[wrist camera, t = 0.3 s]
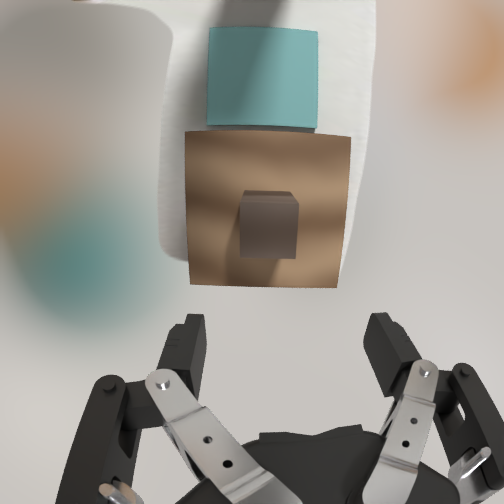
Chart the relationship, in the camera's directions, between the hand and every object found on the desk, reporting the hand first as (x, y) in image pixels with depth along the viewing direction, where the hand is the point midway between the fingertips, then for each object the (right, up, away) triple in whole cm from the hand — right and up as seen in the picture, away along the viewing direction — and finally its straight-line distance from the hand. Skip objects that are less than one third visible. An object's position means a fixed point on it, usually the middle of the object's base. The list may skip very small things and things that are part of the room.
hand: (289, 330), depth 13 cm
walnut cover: (0, +8, +16) cm, 18 cm away
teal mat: (0, +28, +21) cm, 35 cm away
